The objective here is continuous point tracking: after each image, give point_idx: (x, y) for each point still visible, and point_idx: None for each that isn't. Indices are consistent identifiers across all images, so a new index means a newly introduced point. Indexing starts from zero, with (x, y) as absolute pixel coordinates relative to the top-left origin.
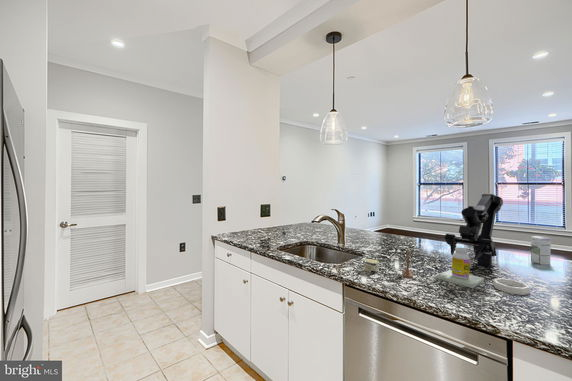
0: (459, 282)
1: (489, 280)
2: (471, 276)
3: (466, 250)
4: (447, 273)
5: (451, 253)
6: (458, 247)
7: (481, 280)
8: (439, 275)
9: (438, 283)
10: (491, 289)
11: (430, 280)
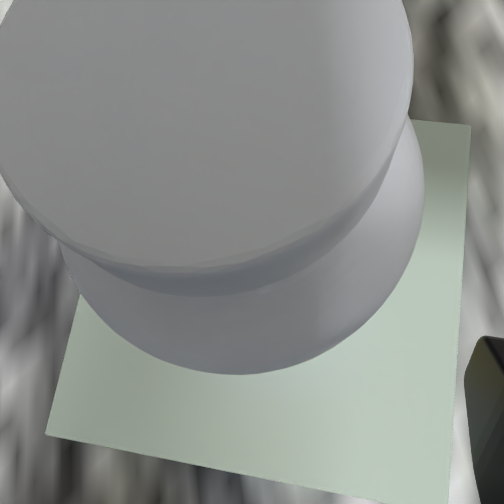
0: None
1: (12, 491)
2: (168, 391)
3: (25, 3)
4: (414, 303)
5: (501, 338)
6: (329, 208)
7: (73, 332)
8: (457, 157)
9: None
10: (10, 192)
11: (484, 39)
